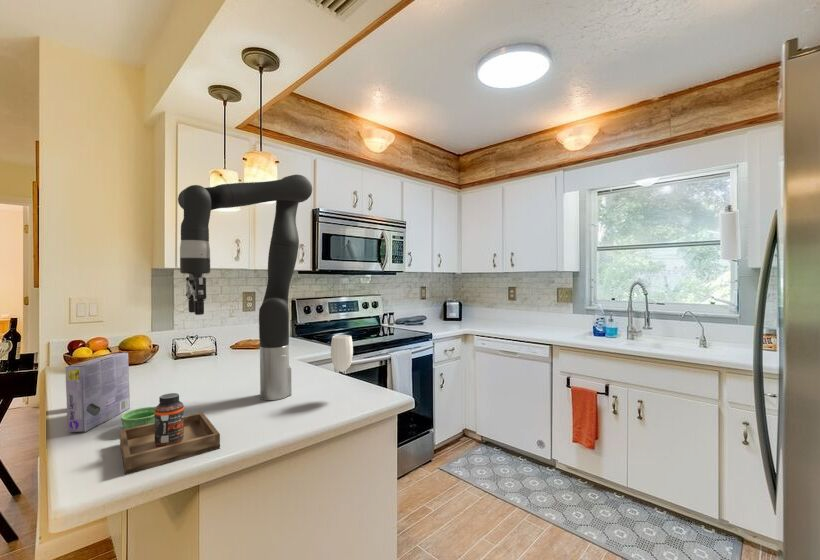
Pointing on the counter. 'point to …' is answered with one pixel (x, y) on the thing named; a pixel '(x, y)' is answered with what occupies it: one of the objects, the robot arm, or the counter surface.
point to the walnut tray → (147, 454)
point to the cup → (341, 352)
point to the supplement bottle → (169, 420)
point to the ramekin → (138, 417)
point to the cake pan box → (97, 391)
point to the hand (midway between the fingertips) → (196, 313)
